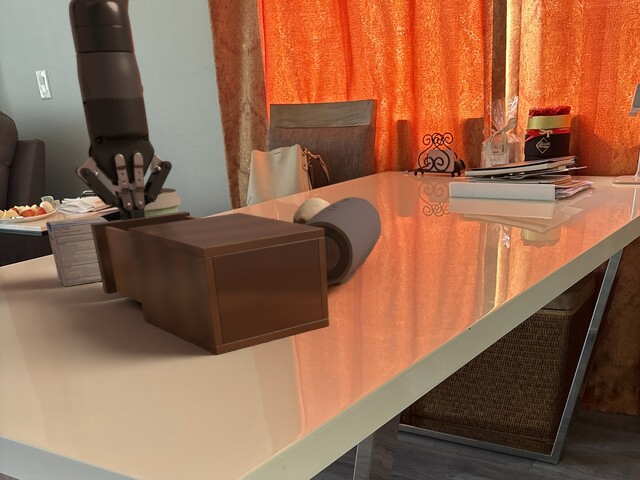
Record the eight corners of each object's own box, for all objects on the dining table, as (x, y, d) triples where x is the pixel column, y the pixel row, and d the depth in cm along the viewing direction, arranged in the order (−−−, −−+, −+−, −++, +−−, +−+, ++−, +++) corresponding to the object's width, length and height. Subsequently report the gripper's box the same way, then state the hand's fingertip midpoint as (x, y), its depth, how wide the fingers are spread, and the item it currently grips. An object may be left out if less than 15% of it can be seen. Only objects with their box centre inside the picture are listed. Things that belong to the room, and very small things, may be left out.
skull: (307, 228, 135) (336, 187, 128) (342, 270, 134) (372, 230, 127) (266, 237, 126) (295, 192, 119) (303, 281, 125) (333, 239, 118)
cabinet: (144, 321, 87) (127, 228, 82) (248, 298, 95) (239, 212, 90) (216, 354, 75) (202, 248, 69) (329, 325, 83) (324, 228, 77)
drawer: (91, 287, 99) (77, 220, 95) (180, 271, 107) (170, 208, 102) (158, 316, 85) (144, 239, 80) (255, 295, 92) (248, 223, 88)
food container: (171, 261, 118) (161, 196, 113) (136, 260, 119) (125, 197, 114) (199, 246, 129) (191, 187, 124) (167, 246, 130) (158, 187, 125)
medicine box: (111, 274, 111) (100, 215, 107) (119, 279, 107) (107, 218, 103) (58, 281, 107) (44, 221, 103) (64, 287, 104) (50, 225, 100)
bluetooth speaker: (328, 259, 115) (324, 193, 110) (385, 260, 114) (384, 192, 109) (290, 295, 96) (284, 216, 91) (358, 296, 94) (355, 216, 89)
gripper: (149, 94, 96) (168, 229, 104) (49, 96, 89) (79, 241, 97) (174, 93, 91) (192, 235, 99) (70, 96, 84) (100, 248, 92)
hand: (136, 237), depth 98 cm, fingers closed
